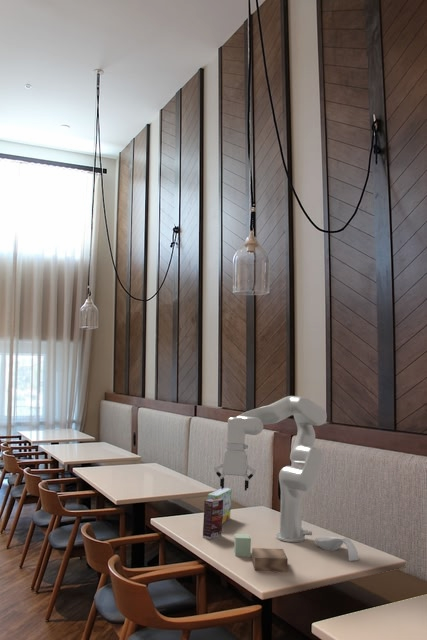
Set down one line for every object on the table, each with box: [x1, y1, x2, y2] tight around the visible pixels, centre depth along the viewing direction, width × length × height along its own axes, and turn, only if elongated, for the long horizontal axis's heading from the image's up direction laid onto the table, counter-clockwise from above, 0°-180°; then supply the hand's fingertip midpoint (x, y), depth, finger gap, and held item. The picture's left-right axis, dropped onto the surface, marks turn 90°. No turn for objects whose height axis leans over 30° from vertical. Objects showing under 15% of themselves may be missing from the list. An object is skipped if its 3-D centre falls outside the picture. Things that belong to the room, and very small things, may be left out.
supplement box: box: [202, 498, 223, 540], centre depth 249 cm, size 9×5×16 cm, turn 143°
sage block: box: [233, 533, 252, 557], centre depth 225 cm, size 6×6×7 cm
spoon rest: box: [314, 536, 360, 562], centre depth 232 cm, size 24×12×7 cm, turn 23°
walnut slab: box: [251, 547, 289, 573], centre depth 211 cm, size 12×12×5 cm
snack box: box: [206, 487, 233, 524], centre depth 274 cm, size 21×6×15 cm, turn 159°
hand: (234, 489), depth 231 cm, fingers open, 9 cm apart
